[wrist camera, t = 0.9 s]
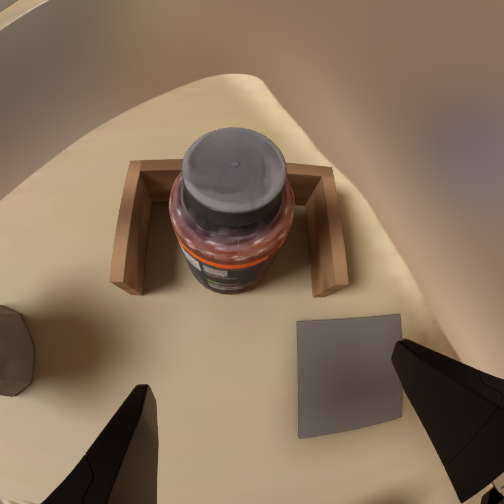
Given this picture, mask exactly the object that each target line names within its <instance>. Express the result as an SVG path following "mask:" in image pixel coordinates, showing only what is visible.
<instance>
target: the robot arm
mask: <svg viewBox="0 0 504 504" xmlns="http://www.w3.org/2000/svg"><path fill="white" fill-rule="evenodd" d="M391 361H392V364H393V366H394V368H395V371H396V373H397V375H398V377H399V380H400V382H401V384H402V387H403V389H404V391H405V393H406V395H407V397H408V399H409V400H410V402H411V404H412V406H413V408H414V409H415V411H416V413H417V415H418V417H419V419H420V421H421V422H422V424H423V426H424V428H425V430H426V432H427V434H428V436H429V438H430V439H431V441H432V443H433V445H434V447H435V449H436V451H437V453H438V455H439V457H440V459H441V461H442V463H443V465H444V467H445V470H446V472H447V474H448V476H449V478H450V480H451V483H452V485H453V487H454V489H455V491H456V494H457V496H458V498H459V500H460V502H461V503H463V502H465V501H466V500H468V499H469V498H471V497H472V496H474V495H475V494H477V493H478V492H479V491H481V490H482V489H483V488H485V487H486V486H487V485H489V484H490V483H492V485H493V487H492V488H491V489H490V490H489V491H488V492H486V493H485V494H484V495H483V496H482V500H481V504H504V379H501V378H498V377H495V376H492V375H489V374H487V373H484V372H482V371H480V370H477V369H475V368H473V367H470V366H468V365H466V364H463V363H461V362H459V361H456V360H454V359H452V358H449V357H447V356H445V355H442V354H440V353H438V352H436V351H433V350H431V349H429V348H426V347H424V346H422V345H420V344H417V343H415V342H413V341H410V340H408V339H402V340H399V341H397V342H396V343H395V346H394V350H393V353H392V356H391ZM158 445H159V441H158V425H157V405H156V400H155V397H154V395H153V392H152V390H151V388H150V386H149V385H148V384H139V385H136V386H135V388H134V389H133V390H132V392H131V393H130V394H129V396H128V397H127V398H126V400H125V401H124V402H123V404H122V405H121V406H120V408H119V409H118V410H117V412H116V413H115V414H114V416H113V417H112V418H111V420H110V421H109V422H108V424H107V425H106V426H105V428H104V429H103V430H102V432H101V433H100V435H99V436H98V437H97V439H96V440H95V441H94V443H93V444H92V445H91V447H90V448H89V449H88V451H87V452H86V455H84V456H83V457H82V459H81V460H80V462H79V463H78V464H77V465H76V467H75V468H74V469H73V470H72V472H71V473H70V474H69V475H68V476H67V477H66V478H65V480H64V481H63V482H62V483H61V484H60V485H59V486H58V487H57V488H56V489H55V490H54V491H53V492H52V493H51V494H50V495H49V496H48V497H47V498H46V499H45V500H44V501H43V502H42V503H41V504H157V469H158Z"/></svg>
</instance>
